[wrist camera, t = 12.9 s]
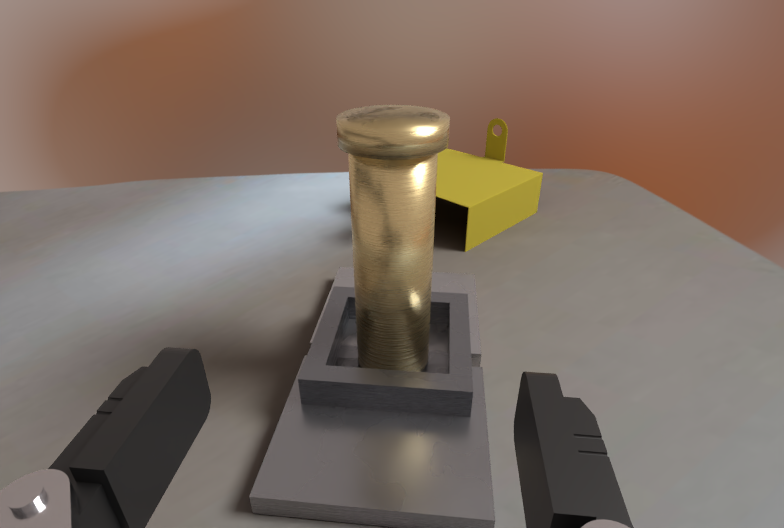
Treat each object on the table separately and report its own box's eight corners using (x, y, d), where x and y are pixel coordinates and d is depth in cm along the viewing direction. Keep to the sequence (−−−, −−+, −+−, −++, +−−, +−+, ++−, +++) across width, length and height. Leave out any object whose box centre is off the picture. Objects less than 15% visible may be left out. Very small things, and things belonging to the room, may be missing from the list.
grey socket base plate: (252, 513, 19) (242, 470, 17) (340, 279, 33) (338, 247, 32) (492, 537, 18) (499, 493, 16) (473, 287, 32) (476, 254, 31)
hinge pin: (342, 382, 23) (324, 130, 17) (357, 326, 27) (347, 104, 21) (434, 389, 23) (449, 133, 17) (437, 331, 27) (450, 106, 21)
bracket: (308, 134, 39) (432, 105, 48) (316, 223, 42) (429, 181, 52) (465, 182, 29) (582, 134, 38) (457, 291, 33) (564, 224, 42)
